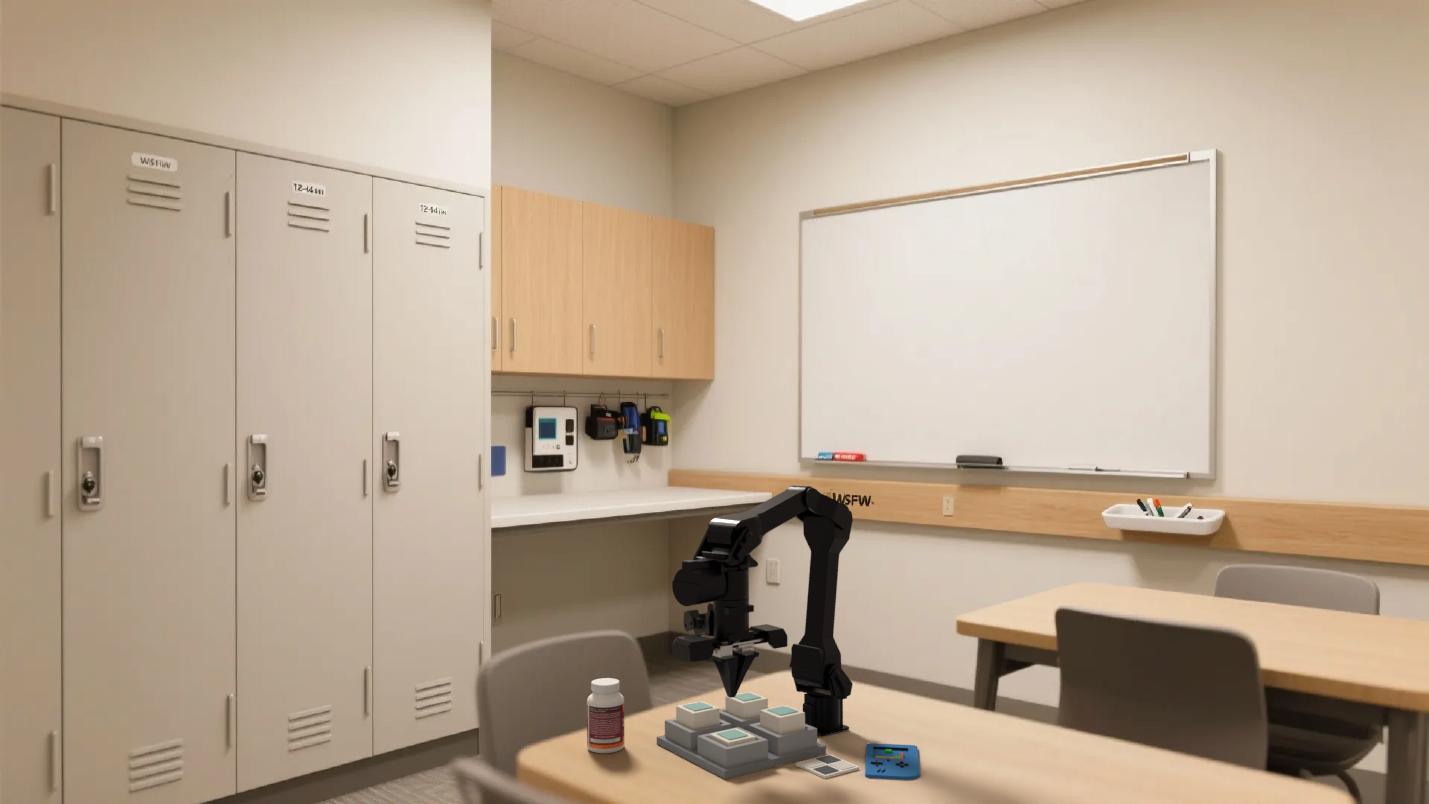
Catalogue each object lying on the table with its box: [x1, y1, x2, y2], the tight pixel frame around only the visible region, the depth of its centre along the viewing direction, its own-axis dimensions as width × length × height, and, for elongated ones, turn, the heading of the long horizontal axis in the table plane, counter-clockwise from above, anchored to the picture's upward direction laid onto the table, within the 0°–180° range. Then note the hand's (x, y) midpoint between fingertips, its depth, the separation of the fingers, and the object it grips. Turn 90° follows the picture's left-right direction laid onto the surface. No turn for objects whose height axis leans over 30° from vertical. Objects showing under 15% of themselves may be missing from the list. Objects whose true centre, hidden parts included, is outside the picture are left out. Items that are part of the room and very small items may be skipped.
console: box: [656, 707, 827, 780], centre depth 166 cm, size 20×20×4 cm
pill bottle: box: [586, 677, 625, 754], centre depth 166 cm, size 6×6×11 cm
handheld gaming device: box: [864, 742, 921, 781], centre depth 159 cm, size 8×1×15 cm
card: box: [795, 754, 860, 780], centre depth 157 cm, size 7×7×1 cm
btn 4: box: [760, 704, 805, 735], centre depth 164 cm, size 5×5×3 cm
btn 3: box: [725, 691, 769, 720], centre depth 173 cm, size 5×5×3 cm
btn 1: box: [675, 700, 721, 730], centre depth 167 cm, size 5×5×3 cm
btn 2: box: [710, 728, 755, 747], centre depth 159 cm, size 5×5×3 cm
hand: (731, 696), depth 159 cm, fingers closed
